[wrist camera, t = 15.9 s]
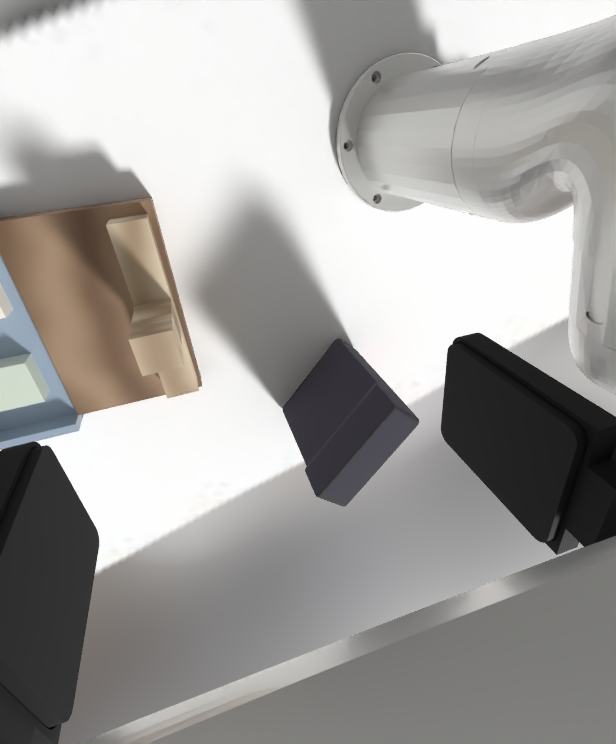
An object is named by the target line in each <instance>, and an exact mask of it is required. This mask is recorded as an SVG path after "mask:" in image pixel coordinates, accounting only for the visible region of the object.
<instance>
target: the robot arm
mask: <svg viewBox="0 0 616 744" xmlns="http://www.w3.org/2000/svg"><path fill="white" fill-rule="evenodd" d="M372 75H373V76H374V81H372ZM344 143H347V148H346V149H344ZM337 155H338V161H339V166H340V168H341V171H342V174H343V177H344V179H345V181H346V182H347V184H348V186H349V188H350V189H351V190H352V191H353V193H354V194H355V195H356V196H357V197H358V198H359V199H360V200H362V201H363V202H365V203H366V204H367V205H370V206H372V207H374V208H377V209H380V210H384V211H390V212H400V211H406V210H410V209H412V208H415V207H417V206H419V205H421V204H423V203H428V204H432V205H436V206H440V207H444V208H448V209H452V210H456V211H460V212H464V213H468V214H472V215H476V216H480V217H484V218H488V219H493V220H497V221H501V222H508V223H527V222H533V221H537V220H541V219H544V218H547V217H550V216H552V215H554V214H557V213H559V212H561V211H563V210H565V209H567V208H568V207H570V206H572V205H574V226H573V242H574V247H573V261H572V275H571V289H570V303H569V326H568V327H569V345H570V350H571V354H572V357H573V359H574V361H575V363H576V365H577V366H578V368H579V369H580V371H581V372H582V373H583V374H584V375H585V376H586V377H587V378H588V379H589V380H590V381H592V382H593V383H594V384H596V385H597V386H599V387H601V388H603V389H605V390H606V391H608V392H610V393H613V394H615V395H616V15H614V16H611V17H609V18H606V19H604V20H601V21H598V22H595V23H592V24H589V25H586V26H583V27H580V28H577V29H573V30H570V31H567V32H564V33H561V34H557V35H554V36H550V37H547V38H543V39H539V40H535V41H532V42H528V43H524V44H521V45H518V46H515V47H511V48H507V49H503V50H499V51H496V52H492V53H488V54H484V55H480V56H476V57H473V58H469V59H465V60H461V61H457V62H453V63H449V64H446V65H442V64H441V63H439V62H438V61H436V60H435V59H433V58H432V57H430V56H427V55H424V54H421V53H410V52H405V53H400V54H396V55H392V56H389V57H387V58H384V59H382V60H380V61H379V62H377V63H376V64H374V65H372V66H371V67H370V68H369V69H368V70H366V71H365V72H364V73H363V74H362V75H361V76H360V77H359V79H358V80H357V81H356V83H355V84H354V86H353V87H352V88H351V90H350V92H349V94H348V96H347V98H346V100H345V102H344V104H343V107H342V111H341V114H340V117H339V121H338V128H337ZM374 196H375V197H376V198H375V200H373V198H374ZM441 432H442V435H443V438H444V440H445V441H446V442H447V444H448V445H449V446H450V447H451V448H452V449H453V450H454V451H455V452H456V453H457V454H458V456H459V457H460V458H461V459H462V460H463V461H464V462H465V463H466V464H467V465H468V466H469V467H470V468H471V470H472V471H473V472H474V473H475V474H476V475H477V476H478V477H479V478H480V479H481V480H482V481H483V483H484V484H485V485H486V486H487V487H488V488H489V489H490V490H491V491H492V492H493V493H494V494H495V495H496V497H497V498H498V499H499V500H500V501H501V502H502V503H503V504H504V505H505V506H506V508H508V510H509V511H510V512H511V513H512V514H513V515H514V516H515V517H516V518H517V519H518V521H519V522H520V523H521V524H522V525H523V526H524V527H525V528H526V529H527V530H528V531H529V532H530V533H531V535H532V536H533V537H534V538H535V539H537V540H538V541H540V542H545V543H546V544H547V545H548V546H549V547H550V548H551V549H552V550H553V551H554V552H555V554H556V555H557V554H560V553H563V552H565V551H568V550H570V549H573V548H576V547H577V546H578V543H579V542H580V543H581V544H582V545H583V546H584V547H583V548H580V549H578V550H575V551H572V552H570V553H567V554H565V555H562V556H559V557H557V558H554V559H551V560H549V561H546V562H543V563H541V564H538V565H536V566H533V567H530V568H528V569H525V570H522V571H520V572H517V573H514V574H512V575H509V576H507V577H504V578H501V579H499V580H496V581H493V582H491V583H488V584H485V585H483V586H480V587H478V588H475V589H472V590H470V591H467V592H464V593H462V594H459V595H457V596H454V597H452V598H449V599H446V600H444V601H441V602H438V603H436V604H433V605H431V606H428V607H426V608H423V609H420V610H418V611H415V612H413V613H410V614H408V615H405V616H402V617H399V618H397V619H394V620H392V621H389V622H387V623H384V624H382V625H379V626H376V627H374V628H371V629H368V630H366V631H363V632H361V633H358V634H355V635H353V636H350V637H348V638H345V639H343V640H340V641H337V642H335V643H332V644H330V645H327V646H325V647H322V648H320V649H317V650H314V651H312V652H309V653H306V654H304V655H301V656H299V657H296V658H294V659H291V660H288V661H286V662H284V663H281V664H278V665H276V666H273V667H271V668H268V669H266V670H263V671H260V672H258V673H255V674H253V675H251V676H248V677H245V678H243V679H240V680H237V681H235V682H232V683H230V684H227V685H225V686H222V687H220V688H217V689H214V690H212V691H209V692H207V693H204V694H202V695H199V696H197V697H194V698H191V699H189V700H186V701H184V702H181V703H179V704H176V705H174V706H171V707H169V708H166V709H163V710H161V711H158V712H156V713H153V714H151V715H148V716H146V717H143V718H140V719H138V720H136V721H133V722H131V723H128V724H126V725H123V726H121V727H119V728H116V729H114V730H111V731H109V732H107V733H104V734H102V735H99V736H97V737H94V738H92V739H89V740H87V741H85V742H82V743H80V744H616V417H615V416H613V415H612V414H610V413H608V412H607V411H605V410H604V409H602V408H600V407H599V406H597V405H596V404H594V403H592V402H591V401H589V400H587V399H586V398H584V397H583V396H581V395H579V394H578V393H576V392H575V391H573V390H571V389H570V388H568V387H566V386H565V385H563V384H562V383H560V382H558V381H557V380H555V379H554V378H552V377H550V376H549V375H547V374H546V373H544V372H542V371H541V370H539V369H538V368H536V367H534V366H533V365H531V364H529V363H528V362H526V361H524V360H523V359H521V358H520V357H518V356H517V355H515V354H513V353H512V352H510V351H509V350H507V349H505V348H504V347H502V346H500V345H499V344H497V343H496V342H494V341H492V340H491V339H489V338H488V337H486V336H484V335H483V334H481V333H474V334H470V335H466V336H462V337H457V338H456V339H455V340H454V341H453V344H452V345H450V346H449V348H448V353H447V365H446V376H445V388H444V399H443V411H442V422H441ZM98 549H99V536H98V532H97V529H96V527H95V526H94V524H93V522H92V520H91V518H90V517H89V515H88V513H87V511H86V509H85V508H84V506H83V504H82V502H81V500H80V499H79V497H78V495H77V493H76V492H75V490H74V488H73V486H72V484H71V483H70V481H69V479H68V477H67V475H66V474H65V472H64V470H63V468H62V467H61V465H60V463H59V461H58V459H57V458H56V456H55V454H54V452H53V451H52V449H51V448H50V447H49V446H42V447H41V445H40V444H39V443H37V442H34V441H33V442H29V443H25V444H21V445H16V446H12V447H8V448H5V449H2V450H1V451H0V744H58V741H59V735H60V730H61V724H62V723H64V722H67V721H68V720H69V718H70V716H71V713H72V709H73V704H74V698H75V692H76V685H77V679H78V673H79V667H80V661H81V654H82V648H83V642H84V636H85V630H86V624H87V617H88V611H89V605H90V599H91V592H92V586H93V580H94V574H95V568H96V561H97V555H98Z"/></svg>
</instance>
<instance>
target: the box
mask: <svg viewBox="0 0 616 744" xmlns="http://www.w3.org/2000/svg"><path fill="white" fill-rule="evenodd" d="M0 283H1V285H2V287H3V289H4V291H5V293H6V295H7V297H8V299H9V301H10V303H11V305H12V307H13V310H12V312H11V313H10V314H9V315H8V316H7V317H6V318H2V319H0V359H4V358H9V357H13V356H18V355H23V354H28V353H31V354H32V356H33V358H34V360H35V362H36V364H37V366H38V368H39V370H40V372H41V374H42V376H43V378H44V379H45V381H46V383H47V385H48V387H49V389H50V391H49V393H48V396H47V398H46V400H45V402H41V403H36V404H32V405H28V406H23V407H19V408H14V409H10V410H6V411H1V412H0V450H2V449H5V448H8V447H12V446H16V445H21V444H25V443H29V442H33V441H34V442H35V441H39V440H43V439H47V438H51V437H55V436H59V435H63V434H67V433H72V432H76V431H79V428H80V425H81V421H82V418H83V414H81V415H78V414H77V412H76V409H75V407H74V405H73V403H72V401H71V399H70V397H69V395H68V393H67V391H66V389H65V387H64V385H63V382H62V380H61V378H60V376H59V374H58V372H57V370H56V368H55V366H54V364H53V362H52V360H51V358H50V356H49V353H48V351H47V349H46V347H45V345H44V343H43V341H42V339H41V337H40V335H39V333H38V331H37V329H36V326H35V324H34V322H33V320H32V318H31V316H30V314H29V312H28V310H27V308H26V306H25V304H24V302H23V299H22V297H21V295H20V293H19V291H18V289H17V287H16V285H15V283H14V281H13V279H12V277H11V275H10V272H9V270H8V268H7V266H6V264H5V262H4V260H3V258H2V256H1V254H0Z"/></svg>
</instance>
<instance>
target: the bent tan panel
mask: <svg viewBox="0 0 616 744" xmlns="http://www.w3.org/2000/svg"><path fill="white" fill-rule="evenodd" d="M106 227H107V230H108V233H109V236H110V238H111V241H112V244H113V247H114V250H115V252H116V255H117V258H118V261H119V264H120V267H121V269H122V272H123V275H124V278H125V281H126V283H127V286H128V289H129V292H130V295H131V297H132V300H133V303H134V311H133V317H132V322H131V328H130V334H129V343H130V345H131V348H132V350H133V353H134V356H135V358H136V361H137V364H138V366H139V369H140V371H141V374H142V376H146V375H150V374H154V373H158V374H159V376H160V379H161V382H162V385H163V388H164V390H165V393H166V396H167V398H171V397H175V396H179V395H183V394H187V393H191V392H195V391H199V388H198V381H197V376H196V373H195V369H194V366H193V363H192V359H191V356H190V353H189V349H188V346H187V342H186V339H185V336H184V332H183V329H182V326H181V322H180V319H179V316H178V312H177V309H176V306H175V302H174V299H173V296H172V292H171V289H170V286H169V282H168V279H167V276H166V272H165V269H164V266H163V262H162V259H161V256H160V252H159V249H158V246H157V242H156V239H155V236H154V232H153V229H152V226H151V222H150V219H149V216H148V213H146V214H140V215H134V216H128V217H122V218H116V219H110V220H109V221H108V222H107V224H106Z"/></svg>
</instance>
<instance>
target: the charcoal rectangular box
mask: <svg viewBox="0 0 616 744" xmlns="http://www.w3.org/2000/svg"><path fill="white" fill-rule="evenodd" d="M283 413H284V415H285V417H286V419H287V422H288V424H289V426H290V429H291V431H292V433H293V435H294V438H295V440H296V442H297V445H298V447H299V449H300V452H301V454H302V456H303V458H304V461H305V463H306V465H307V467H306V469H305V472H306V474H307V476H308V479H309V481H310V483H311V486H312V488H313V490H314V493H315V495H316V496H317V497H319V498H322V499H324V500H327V501H330V502H332V503H335V504H338V505H341V506H346V505H347V504H348V503H349V502H350V501H351V500H352V499H353V497H354V496H355V495H356V494H357V493H358V492H359V491H360V490H361V488H362V487H363V486H364V485H365V484H366V483H367V482H368V481H369V479H370V478H371V477H372V476H373V475H374V474H375V473H376V472H377V470H378V469H379V468H380V467H381V466H382V465H383V464H384V463H385V461H386V460H387V459H388V458H389V457H390V456H391V455H392V454H393V452H394V451H395V450H396V449H397V448H398V447H399V445H401V443H402V442H403V441H404V440H405V439H406V438H407V436H409V434H410V433H411V432H412V431H413V430H414V429H415V428H416V426H417V425H418V423H419V419H418V418H417V417H416V416H415V414H414V413H413V412H412V411H411V410H410V409H409V408H408V407H407V406H406V405H405V403H404V402H403V401H402V400H401V399H400V398H399V397H398V396H397V395H396V394H395V392H394V391H393V390H392V389H391V388H390V387H389V386H388V385H387V384H386V383H385V381H384V380H383V379H382V378H381V377H380V376H379V375H378V374H377V373H376V371H375V370H374V369H373V368H372V367H371V366H370V365H369V364H368V363H367V362H366V360H365V359H364V358H363V357H362V356H361V355H360V354H359V353H358V352H357V351H356V350H355V349H354V348H352V347H351V346H349V345H348V344H346V343H345V342H343V341H342V340H340V339H337V340H335V342H334V343H333V344H332V346H331V347H330V348H329V349H328V351H327V352H326V353H325V355H324V356H323V357H322V358H321V360H320V361H319V362H318V364H317V365H316V366H315V367H314V369H313V370H312V371H311V373H310V374H309V375H308V376H307V378H306V379H305V380H304V382H303V383H302V384H301V385H300V387H299V388H298V389H297V391H296V392H295V393H294V394H293V396H292V397H291V398H290V400H289V401H288V402H287V403H286V405H285V406H284V407H283Z"/></svg>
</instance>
